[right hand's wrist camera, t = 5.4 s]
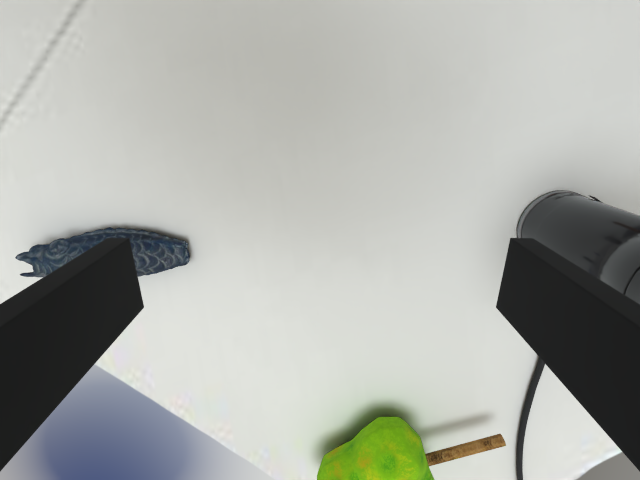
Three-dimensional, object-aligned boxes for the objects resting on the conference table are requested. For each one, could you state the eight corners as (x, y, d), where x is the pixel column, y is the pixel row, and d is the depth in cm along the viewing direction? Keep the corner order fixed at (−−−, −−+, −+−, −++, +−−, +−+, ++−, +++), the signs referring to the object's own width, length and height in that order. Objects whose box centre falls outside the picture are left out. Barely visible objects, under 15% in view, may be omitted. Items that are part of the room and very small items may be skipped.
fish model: (26, 228, 46) (-7, 242, 41) (186, 221, 46) (171, 235, 41) (43, 273, 48) (14, 292, 44) (195, 267, 48) (182, 285, 43)
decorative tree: (530, 511, 51) (337, 559, 54) (494, 446, 61) (332, 490, 64) (513, 428, 45) (296, 487, 48) (477, 371, 55) (298, 422, 58)
